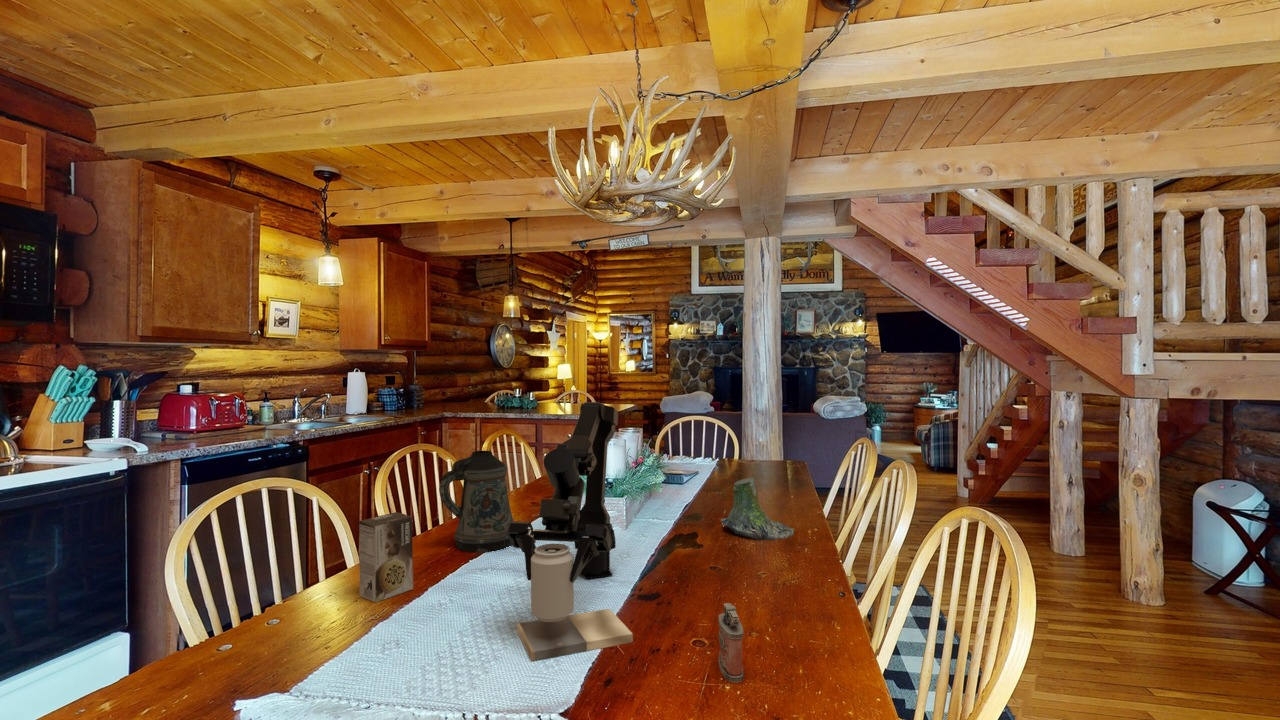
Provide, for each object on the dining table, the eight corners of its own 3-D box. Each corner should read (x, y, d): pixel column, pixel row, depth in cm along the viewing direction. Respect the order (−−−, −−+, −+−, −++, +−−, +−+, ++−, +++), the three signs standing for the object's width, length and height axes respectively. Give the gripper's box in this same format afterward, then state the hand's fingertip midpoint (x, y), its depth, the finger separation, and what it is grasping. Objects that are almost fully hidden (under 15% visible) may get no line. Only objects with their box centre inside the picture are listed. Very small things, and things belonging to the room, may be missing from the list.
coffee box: (396, 583, 139) (396, 511, 139) (414, 589, 135) (413, 515, 135) (357, 596, 132) (357, 520, 132) (375, 603, 128) (375, 524, 128)
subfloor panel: (609, 616, 121) (609, 608, 121) (632, 642, 110) (632, 633, 110) (517, 632, 114) (517, 623, 114) (531, 661, 103) (531, 651, 103)
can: (574, 605, 115) (573, 540, 115) (573, 623, 108) (572, 553, 107) (533, 607, 114) (532, 542, 114) (529, 625, 107) (528, 555, 107)
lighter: (715, 657, 104) (715, 598, 104) (735, 657, 105) (735, 597, 105) (725, 682, 96) (725, 618, 96) (747, 681, 97) (747, 617, 97)
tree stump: (800, 543, 170) (784, 480, 170) (728, 558, 173) (712, 496, 172) (791, 522, 188) (777, 465, 188) (726, 536, 191) (712, 480, 190)
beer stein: (529, 541, 172) (529, 450, 171) (476, 560, 155) (475, 459, 155) (486, 532, 180) (486, 445, 180) (431, 549, 164) (431, 454, 164)
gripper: (509, 478, 116) (486, 556, 105) (607, 480, 113) (594, 561, 102) (523, 509, 124) (503, 585, 113) (616, 512, 121) (604, 591, 110)
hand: (550, 580), depth 110 cm, fingers closed on can, 7 cm apart
